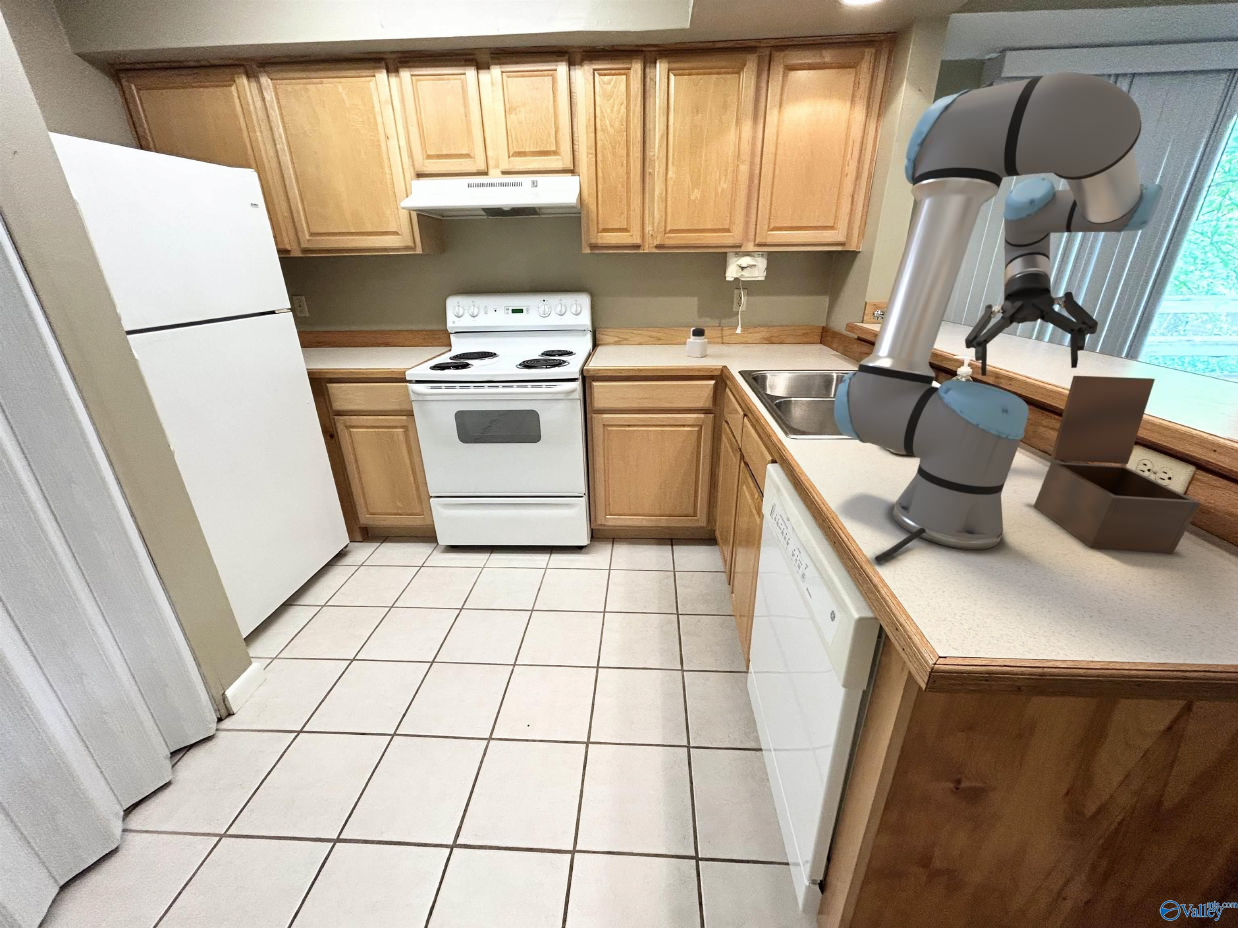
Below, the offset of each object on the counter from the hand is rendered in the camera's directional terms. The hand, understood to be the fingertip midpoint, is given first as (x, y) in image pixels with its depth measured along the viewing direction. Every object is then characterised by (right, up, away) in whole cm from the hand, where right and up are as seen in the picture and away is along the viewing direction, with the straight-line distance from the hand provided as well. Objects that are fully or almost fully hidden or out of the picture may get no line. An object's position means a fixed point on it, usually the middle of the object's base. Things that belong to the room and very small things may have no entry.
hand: (1027, 368), depth 95 cm
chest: (0, -29, -14) cm, 32 cm away
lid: (+1, -11, -13) cm, 18 cm away
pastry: (-14, -16, +18) cm, 28 cm away
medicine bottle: (-45, +29, +121) cm, 133 cm away
